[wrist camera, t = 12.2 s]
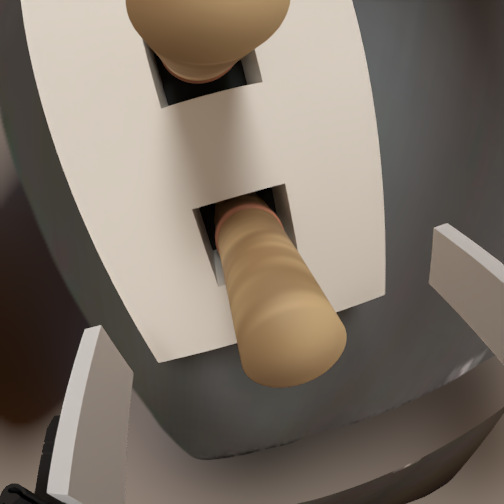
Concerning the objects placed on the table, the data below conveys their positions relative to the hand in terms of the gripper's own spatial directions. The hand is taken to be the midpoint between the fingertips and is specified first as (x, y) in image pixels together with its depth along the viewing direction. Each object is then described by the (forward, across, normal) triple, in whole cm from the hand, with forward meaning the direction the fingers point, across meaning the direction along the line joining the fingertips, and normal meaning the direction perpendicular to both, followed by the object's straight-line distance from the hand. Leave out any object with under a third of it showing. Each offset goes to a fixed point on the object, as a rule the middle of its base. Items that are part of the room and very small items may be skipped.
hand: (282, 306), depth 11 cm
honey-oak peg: (+11, 0, 0) cm, 11 cm away
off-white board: (+11, 0, +5) cm, 12 cm away
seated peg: (+11, 0, +10) cm, 15 cm away
